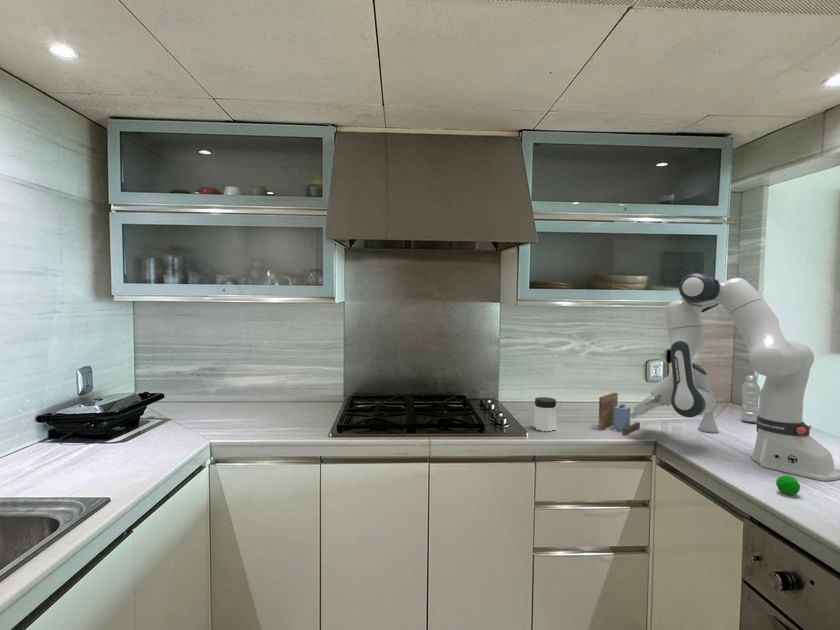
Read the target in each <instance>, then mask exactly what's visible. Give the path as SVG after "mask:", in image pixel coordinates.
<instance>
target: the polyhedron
mask: <svg viewBox="0 0 840 630" xmlns="http://www.w3.org/2000/svg"><path fill="white" fill-rule="evenodd" d="M775 486H776V487H777V489H778V490H779V491H780V493H782V494H783V495H786V496H795V495H797V494H798V493H799V491H801V485H800V483H799V482H798V480H797V479H796V478H795V477H793V476H791V475H781V476H779V477H778V478H777V479H776V482H775Z"/></svg>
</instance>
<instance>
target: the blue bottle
mask: <svg viewBox="0 0 840 630" xmlns="http://www.w3.org/2000/svg"><path fill="white" fill-rule="evenodd" d="M630 414H631V407H630V406H626V405H625V403H624V404H623V403H622V404H619V405H617V406H616V407H614V422H613V426H612V427H613V429H616V430H615V431H617V430H620V431H619V432H622V431H623V428H625V427H627V426H629V425H631V417H630Z"/></svg>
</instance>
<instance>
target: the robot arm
mask: <svg viewBox="0 0 840 630" xmlns="http://www.w3.org/2000/svg"><path fill="white" fill-rule="evenodd" d="M678 291H679V294H680V296H681V298H679V299H676V300H673V301H672V302H670V303H668V305H667V306H666V308H665V309H666V310H665V321H666V330H667V335H668V340H669V341H668V342H669V351H670V362H671V371H670V372H669V373H668V375H667V376H666V377H664V378H662V379H661V380H659V381H658V382H656V383H655V384H654V385H652V386H651V387H650V390H651V392H650V396H646V398H644V399H643V400H642V401H640V402H638V403H636V405H634V407H633V412H632V413H630V419H632V420H633V419H636V417H638V416H642V415H645V414H647V413H648V412H651V411H653V410H655V409H657V408H660V407H664V406H667V407H670V406H672V408H673V410H674V411H675V412H676V413H677V414H678V415H680V416H681V417H684V418H695V417H697V416H704V414H708V413H711V412H712V411H713V412H714V411H715V410H716V408H717V405H718V400H717V397H716V395H715V394H714V392H713V391H712V388H711V387H710V383H709V381H708V373H707V372H706V370H705V369H704V368H702V366H700V365H698V364H696V363H694V362H693V360H694V359H693V358H694V356H695V355H696V354H697V352H698V351H700V350H701V348H702V347H703V345H704V331H703V328H702V323H701V317H700V316H701V313H704V312H707V311H708V310H711V309H713V308H715V307H717V306H719V305H720V306H721V307H723V309H724V310H725V311H726V313H727V315H728V316H729V318H730V320H731V321H732V322H733V324H734V325H735V327H736V328H737V329H738V332H739V333H740V334H741V337H742V338H743V341H744V343H745V345H746V348H747V351H748V353H749V364H750V366H751V368H752V370H753V371H755V372H756V373H757V374H759V375H761V376H764V377H765V380H764V384H763V386H762V388H760V395H759V401H758V407H759V415H758V416H757V422H756V424H755V427H756V440H755V443H754V448H753V450H752V453H751V456H750V458H751V459H752V460H753V461H755V462H756V463H758V465H759V466H761V467H763V468H765V469H772V470H775V471H780V472H782V473H783V472H784V473H788V474H792V475H795V476H800V477H804V478H805V477H806V478H810V479H813V480H818V481H822V482H823V481H824V482H828V481H829V482H830V481H836V480H840V468H837V467H835V463H834V459H833V455H832V452H831V451H830V450H829V449H827V448H826V447H825V446H823V445H822V444H821V443H819V442H818V441H817V440H816V439H815V438H813V437H812V436H811V435H810V430H812V427H813V426H812V425H810V424H809V425H807V424H806V423H805V422H804V421H803V414H804V397H805V393H806V390H807V389H806V388H807V384H808V380H809V377H810V372H811V368H812V366H813V364H814V361H815V355H814V353H813V351H812V349H811V348H810V347H808V346H807V345H805V344H803V343H800V342H797V341H793V340H787V339H786V338H785V336H784V334H783V332H782V330H781V327H780V320H779V318H778V316H777V315H776V314H775V313H774V311H773V310H772V309H771V308H770V306H769V304H768V303H767V302H766V301H765V299H764V297H763V296H762V295H761V293H759V291H758V290H757V289H756V288H755V287H754V286H753V285H752V284H750V282H748V281H747V280H746V279H744V278H743V277H742V278H741V277H734V278H733V277H732V278H730V279H728V280H725V281H724V282H720V281H719V280H718V279H716V278H713V277H712V276H709V275H707V274H704V273H699V272H696V273H690V274H688V275H686V276H685V277H683V278H682V279H681V281H680V282H679V285H678Z"/></svg>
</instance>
